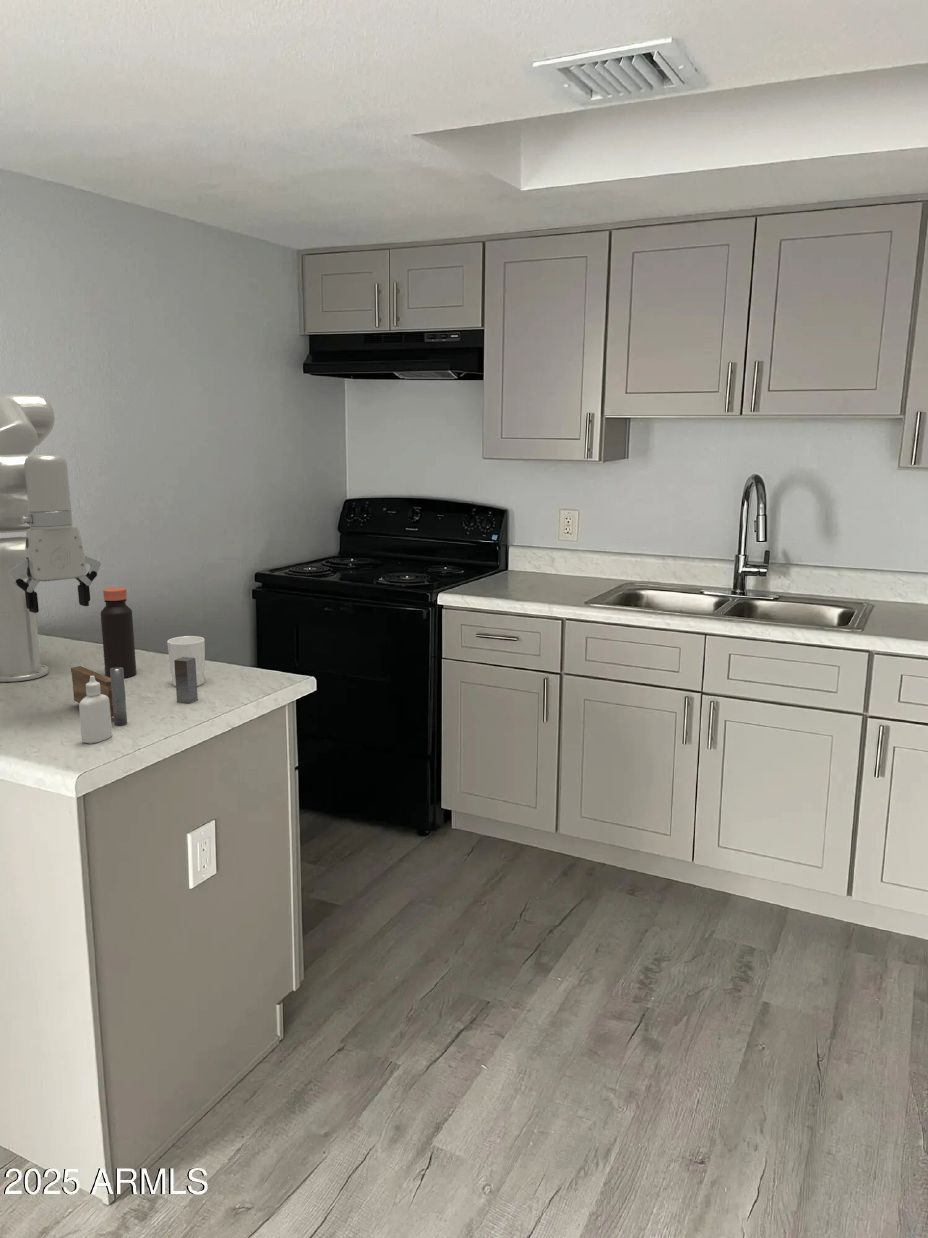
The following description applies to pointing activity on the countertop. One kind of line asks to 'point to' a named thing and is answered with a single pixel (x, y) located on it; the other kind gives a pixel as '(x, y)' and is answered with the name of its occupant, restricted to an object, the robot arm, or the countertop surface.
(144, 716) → the countertop surface
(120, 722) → the grey glass test tube
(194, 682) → the post
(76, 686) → the brown wooden board
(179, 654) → the white cup
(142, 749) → the countertop surface
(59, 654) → the countertop surface
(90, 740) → the eye dropper bottle
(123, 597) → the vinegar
